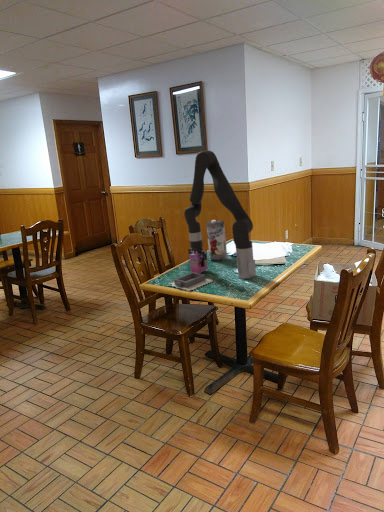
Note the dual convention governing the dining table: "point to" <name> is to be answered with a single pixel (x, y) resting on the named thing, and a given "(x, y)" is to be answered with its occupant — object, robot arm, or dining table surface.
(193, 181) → the robot arm
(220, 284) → the dining table surface
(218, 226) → the juice carton
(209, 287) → the dining table surface
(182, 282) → the board
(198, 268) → the box
